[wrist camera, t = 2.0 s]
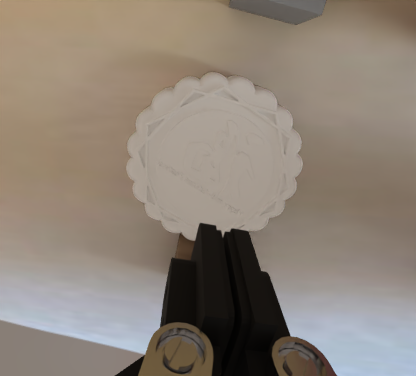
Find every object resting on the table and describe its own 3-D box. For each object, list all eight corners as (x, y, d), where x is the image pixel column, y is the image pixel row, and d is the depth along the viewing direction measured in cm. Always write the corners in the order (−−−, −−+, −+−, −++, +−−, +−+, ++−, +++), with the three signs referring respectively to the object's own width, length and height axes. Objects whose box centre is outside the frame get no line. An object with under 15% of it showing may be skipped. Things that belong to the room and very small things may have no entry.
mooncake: (324, 136, 22) (345, 149, 19) (229, 247, 26) (233, 274, 23) (191, 33, 19) (189, 26, 16) (106, 174, 23) (90, 193, 20)
